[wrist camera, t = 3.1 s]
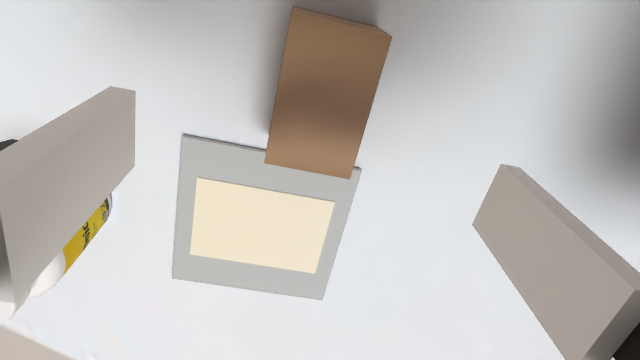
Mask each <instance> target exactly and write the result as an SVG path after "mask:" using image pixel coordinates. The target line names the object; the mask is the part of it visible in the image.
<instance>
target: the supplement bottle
mask: <svg viewBox="0 0 640 360" xmlns="http://www.w3.org/2000/svg"><path fill="white" fill-rule="evenodd" d="M110 212H111V198H110V195H109V196H108V197H107V198H106V199H105V200H104V202H103V203H102V204H101V205H100V206H99V207H98V209H97V210H96V211H95V212H94V213H93V214H92V215H91V217H90V218H89V219H88V220H87V221H86V222H85V224H84V225H83V226H82V227H81V228H80V229H79V230H78V232H77V233H76V234H75V235H74V236H73V237H72V239H71V240H70V241H69V242H68V243H67V244H66V245H65V247H64V248H63V249H62V250H61V251H60V252H59V253H58V255H57V256H56V257H55V258H54V259H53V260H52V262H51V263H50V264H49V265H48V266H47V267H46V268H45V270H44V271H43V272H42V273H41V274H40V275H39V277H38V278H37V279H36V280H35V281H34V282H33V283H32V285H31V286H30V287H29V288H28V289H27V290H26V292H25V293H24V294H23V295H22V296H21V297H20V298H19V300H18V301H17V302H16V303H11V302H3V301H0V324H2V323H4V322H6V321H7V320H9V319H10V318H11V317H12V316H13V315H14V314H15V312H16V311H17V310H18V309H19V308H20V307H21V306H22V305H23V304H24V302H25V301H26V299H28V298H33V297H36V296H39V295H41V294H43V293H45V292H47V291H48V290H50V289H51V288H52V287H54V286H55V285H56V283H57V282H58V281H59V280H60V279H61V278H62V277H63V275H64V274H65V273H66V272H67V270H68V269H69V268H70V267H71V265H72V264H73V263H74V262H75V260H76V259H77V258H78V257H79V255H80V254H81V253H82V251H83V250H84V249H85V247H86V246H87V245H88V244H89V242H90V241H91V240H92V239H93V237H94V236H95V235H96V234H97V232H98V231H99V229H100V228H101V227H102V226H103V224H104V223H105V222H106V220H107V219H108V217H109V215H110Z"/></svg>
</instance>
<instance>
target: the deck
mask: <svg viewBox="0 0 640 360" xmlns="http://www.w3.org/2000/svg"><path fill="white" fill-rule="evenodd" d="M391 39H392V37H391V36H390V35H388V34H387V33H386V32H384V31H383V30H381V29H380V28H378V27H376V26H372V25H368V24H364V23H360V22H356V21H352V20H347V19H343V18H339V17H335V16H331V15H327V14H323V13H319V12H315V11H311V10H307V9H303V8H299V7H295V6H293V9H292V11H291V16H290V22H289V27H288V33H287V38H286V44H285V49H284V55H283V60H282V66H281V71H280V77H279V83H278V88H277V94H276V99H275V105H274V110H273V116H272V121H271V127H270V132H269V138H268V143H267V149H266V155H265V160H264V163H265V164H270V165H276V166H281V167H286V168H291V169H297V170H302V171H307V172H312V173H318V174H323V175H328V176H334V177H339V178H344V179H349V180H350V178H351V174H352V171H353V167H354V164H355V161H356V157H357V154H358V151H359V147H360V144H361V140H362V137H363V134H364V130H365V127H366V123H367V120H368V117H369V113H370V110H371V106H372V103H373V100H374V96H375V93H376V90H377V86H378V83H379V79H380V76H381V73H382V69H383V66H384V62H385V59H386V56H387V52H388V49H389V46H390V42H391Z"/></svg>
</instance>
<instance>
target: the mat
mask: <svg viewBox="0 0 640 360" xmlns="http://www.w3.org/2000/svg"><path fill="white" fill-rule="evenodd" d="M265 155H266V150H262V149H256V148H251V147H246V146H241V145H236V144H230V143H225V142H220V141H215V140H210V139H204V138H199V137H194V136H189V135H183V136H182V143H181V157H180V171H179V185H178V199H177V213H176V227H175V241H174V255H173V270H172V278H173V279H179V280H186V281H193V282H200V283H207V284H214V285H221V286H227V287H234V288H241V289H248V290H255V291H262V292H269V293H275V294H282V295H289V296H296V297H303V298H310V299H317V300H322V299H323V296H324V293H325V290H326V286H327V283H328V280H329V276H330V273H331V270H332V267H333V263H334V260H335V257H336V253H337V250H338V247H339V244H340V240H341V237H342V234H343V230H344V227H345V224H346V221H347V217H348V214H349V211H350V207H351V204H352V201H353V197H354V194H355V191H356V188H357V184H358V181H359V178H360V174H361V169H360V168H355V167H353V171H352V174H351V178H350V180H349V179H344V178H339V177H334V176H328V175H323V174H318V173H312V172H307V171H302V170H297V169H291V168H286V167H281V166H276V165H270V164H265V163H264V160H265Z"/></svg>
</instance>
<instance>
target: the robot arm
mask: <svg viewBox="0 0 640 360" xmlns="http://www.w3.org/2000/svg"><path fill="white" fill-rule="evenodd" d="M134 163H135V91H132V90H127V89H122V88H117V87H112V86H110V87H109V88H107V89H105V90H104V91H102V92H100V93H99V94H97V95H95V96H93V97H92V98H90V99H88V100H87V101H85V102H83V103H82V104H80V105H78V106H76V107H75V108H73V109H71V110H70V111H68V112H66V113H65V114H63V115H61V116H59V117H58V118H56V119H54V120H53V121H51V122H49V123H48V124H46V125H44V126H42V127H41V128H39V129H37V130H36V131H34V132H32V133H31V134H29V135H27V136H25V137H24V138H22V139H20V140H13V139H11V140H7V141H3V142H0V301H3V302H11V303H16V302H17V301H18V300H19V298H20V297H21V296H22V295H23V294H24V293H25V292H26V290H27V289H28V288H29V287H30V286H31V285H32V283H33V282H34V281H35V280H36V279H37V278H38V277H39V275H40V274H41V273H42V272H43V271H44V270H45V268H46V267H47V266H48V265H49V264H50V263H51V262H52V260H53V259H54V258H55V257H56V256H57V255H58V253H59V252H60V251H61V250H62V249H63V248H64V247H65V245H66V244H67V243H68V242H69V241H70V240H71V239H72V237H73V236H74V235H75V234H76V233H77V232H78V230H79V229H80V228H81V227H82V226H83V225H84V224H85V222H86V221H87V220H88V219H89V218H90V217H91V215H92V214H93V213H94V212H95V211H96V210H97V209H98V207H99V206H100V205H101V204H102V203H103V202H104V200H105V199H106V198H107V197H108V196H109V195H110V194H111V192H112V191H113V190H114V189H115V188H116V187H117V185H118V184H119V183H120V182H121V181H122V180H123V179H124V177H125V176H126V175H127V174H128V173H129V172H130V170H131V169H132V168H133V167H134ZM472 225H473V226H474V228H475V229H476V231H477V232H478V234H479V235H480V237H481V238H482V239H483V241H484V242H485V244H486V245H487V247H488V248H489V250H490V251H491V253H492V254H493V255H494V257H495V258H496V260H497V261H498V263H499V264H500V266H501V267H502V268H503V270H504V271H505V273H506V274H507V276H508V277H509V279H510V280H511V282H512V283H513V284H514V286H515V287H516V289H517V290H518V292H519V293H520V295H521V296H522V297H523V299H524V300H525V302H526V303H527V305H528V306H529V308H530V309H531V311H532V312H533V313H534V315H535V316H536V318H537V319H538V321H539V322H540V324H541V325H542V326H543V328H544V329H545V331H546V332H547V334H548V335H549V337H550V338H551V339H552V341H553V342H554V344H555V345H556V347H557V348H558V350H559V351H560V353H561V354H562V355H563V357H564V358H565V360H611V359H612V357H614V358H615V360H640V273H639V272H638V271H637V270H636V269H634V268H633V267H632V266H631V265H630V264H629V263H628V262H626V261H625V260H624V259H623V258H622V257H621V256H620V255H618V254H617V253H616V252H615V251H614V250H613V249H612V248H611V247H609V246H608V245H607V244H606V243H605V242H604V241H603V240H601V239H600V238H599V237H598V236H597V235H596V234H595V233H593V232H592V231H591V230H590V229H589V228H588V227H587V226H585V225H584V224H583V223H582V222H581V221H580V220H579V219H577V218H576V217H575V216H574V215H573V214H572V213H571V212H569V211H568V210H567V209H566V208H565V207H564V206H563V205H561V204H560V203H559V202H558V201H557V200H556V199H555V198H554V197H552V196H551V195H550V194H549V193H548V192H547V191H546V190H544V189H543V188H542V187H541V186H540V185H539V184H538V183H536V182H535V181H534V180H533V179H532V178H531V177H530V176H528V175H527V174H526V173H525V172H524V171H523V170H522V169H520V168H519V167H514V166H509V165H504V164H501V165H500V167H499V169H498V171H497V173H496V175H495V178H494V180H493V182H492V184H491V186H490V188H489V190H488V192H487V194H486V196H485V198H484V201H483V203H482V205H481V207H480V209H479V211H478V213H477V215H476V217H475V219H474V222H473V224H472Z"/></svg>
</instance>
